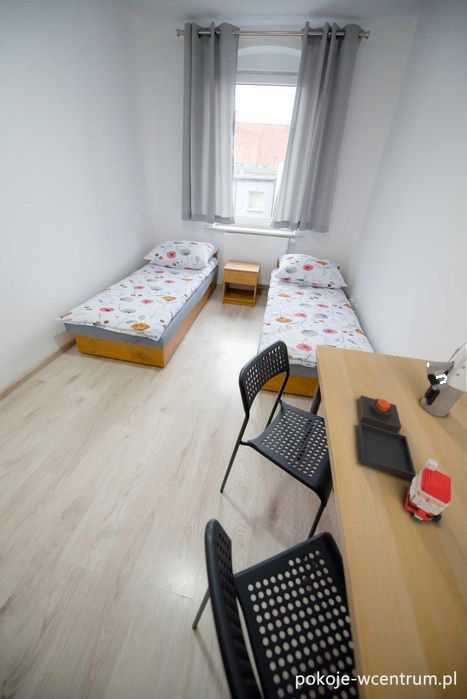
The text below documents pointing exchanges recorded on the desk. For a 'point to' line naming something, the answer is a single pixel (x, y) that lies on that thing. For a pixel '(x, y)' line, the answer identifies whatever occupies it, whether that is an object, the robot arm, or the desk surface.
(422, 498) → the figurine
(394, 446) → the tray
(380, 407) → the button
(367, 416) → the console
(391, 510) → the desk surface
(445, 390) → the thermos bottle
